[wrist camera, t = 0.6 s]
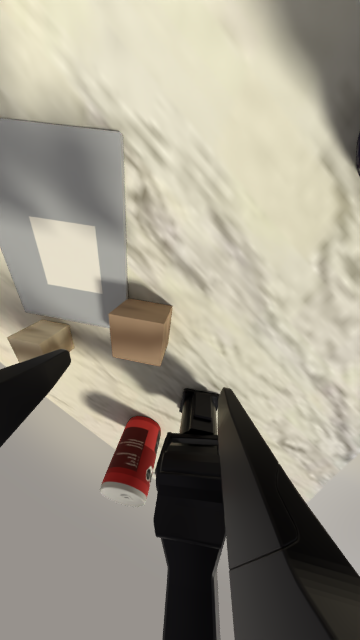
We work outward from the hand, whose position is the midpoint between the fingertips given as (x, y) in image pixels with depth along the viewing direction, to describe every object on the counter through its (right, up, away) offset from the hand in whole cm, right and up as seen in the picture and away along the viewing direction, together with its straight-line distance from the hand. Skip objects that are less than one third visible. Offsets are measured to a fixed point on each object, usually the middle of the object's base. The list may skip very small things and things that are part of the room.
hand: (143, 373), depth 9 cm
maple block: (-18, +1, +17) cm, 24 cm away
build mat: (-12, +12, +10) cm, 19 cm away
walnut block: (-2, +3, +13) cm, 14 cm away
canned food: (-6, -21, +26) cm, 34 cm away
